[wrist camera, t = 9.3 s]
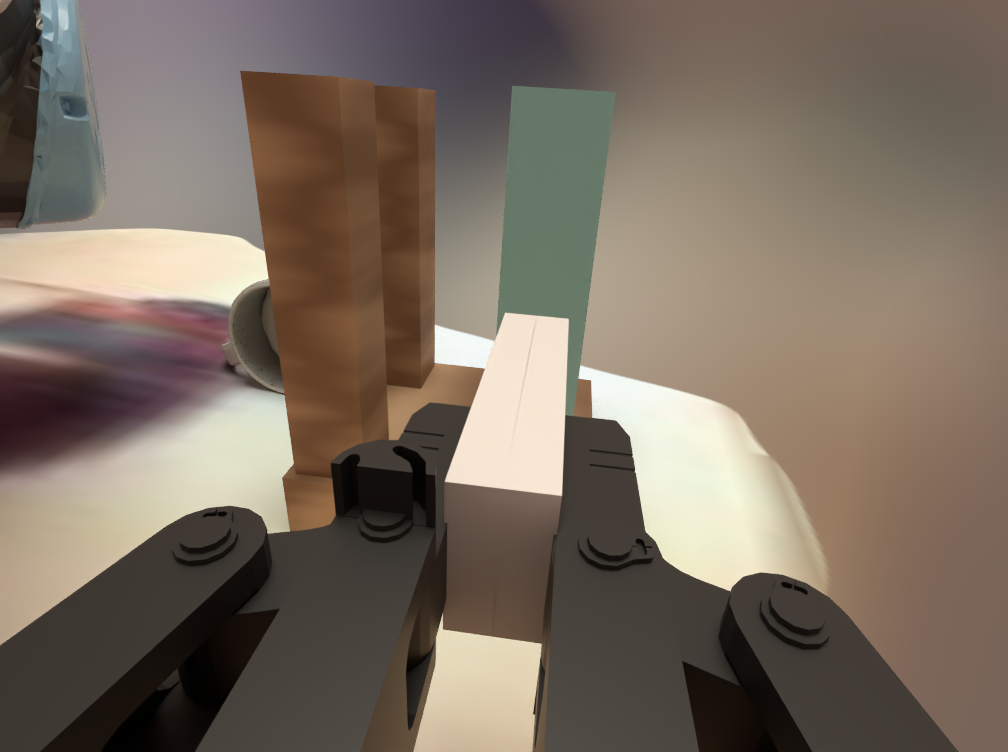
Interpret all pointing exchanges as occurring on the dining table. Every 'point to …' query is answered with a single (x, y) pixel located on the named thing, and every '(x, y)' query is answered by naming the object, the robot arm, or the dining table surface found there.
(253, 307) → the ceramic mug
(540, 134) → the hinged leg
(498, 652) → the dining table surface
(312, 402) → the upturned wooden stool
